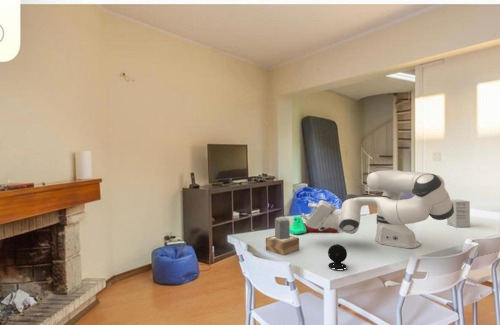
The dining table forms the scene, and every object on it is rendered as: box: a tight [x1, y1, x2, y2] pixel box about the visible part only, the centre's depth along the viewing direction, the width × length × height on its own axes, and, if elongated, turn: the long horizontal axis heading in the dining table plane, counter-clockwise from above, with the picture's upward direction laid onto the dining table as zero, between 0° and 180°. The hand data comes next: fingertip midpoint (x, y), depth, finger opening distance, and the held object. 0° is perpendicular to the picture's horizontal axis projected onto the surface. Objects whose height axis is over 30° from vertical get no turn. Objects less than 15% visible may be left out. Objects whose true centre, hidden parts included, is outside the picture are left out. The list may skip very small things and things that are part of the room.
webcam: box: [327, 243, 348, 269], centre depth 128 cm, size 8×8×10 cm
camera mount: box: [290, 215, 306, 235], centre depth 188 cm, size 12×8×10 cm, turn 34°
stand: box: [265, 235, 300, 256], centre depth 154 cm, size 12×12×6 cm
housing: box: [274, 216, 291, 240], centre depth 154 cm, size 6×6×10 cm
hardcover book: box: [303, 222, 339, 234], centre depth 192 cm, size 12×21×4 cm, turn 83°
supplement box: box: [446, 198, 471, 228], centre depth 199 cm, size 10×9×17 cm
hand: (304, 209), depth 162 cm, fingers open, 8 cm apart
